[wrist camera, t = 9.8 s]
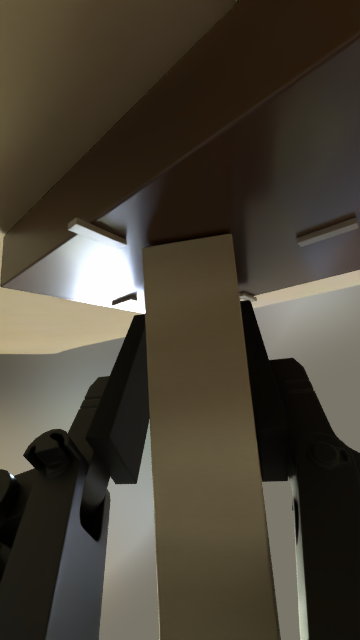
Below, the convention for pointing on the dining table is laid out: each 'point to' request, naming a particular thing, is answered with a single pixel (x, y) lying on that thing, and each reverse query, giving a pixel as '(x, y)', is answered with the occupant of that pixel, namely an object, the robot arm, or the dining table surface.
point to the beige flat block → (204, 449)
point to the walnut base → (216, 165)
